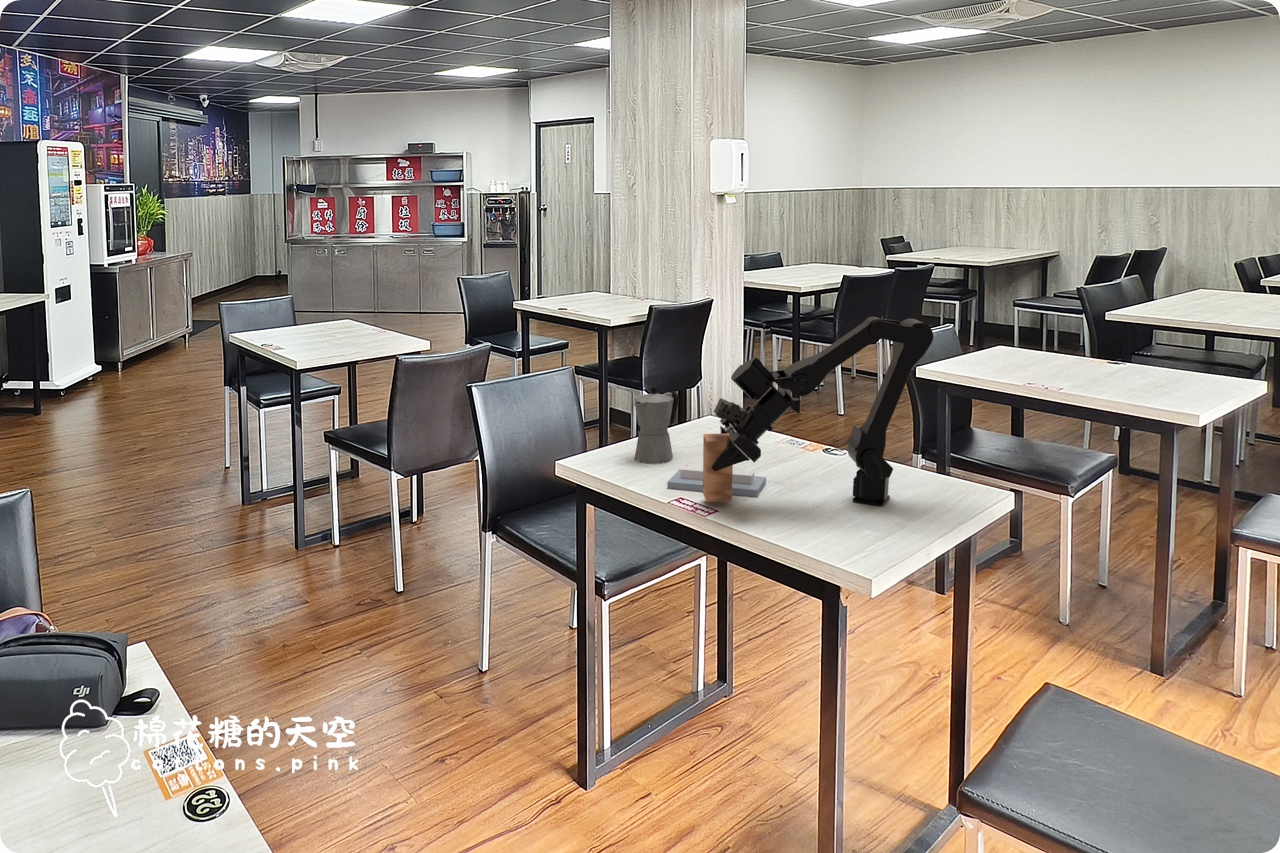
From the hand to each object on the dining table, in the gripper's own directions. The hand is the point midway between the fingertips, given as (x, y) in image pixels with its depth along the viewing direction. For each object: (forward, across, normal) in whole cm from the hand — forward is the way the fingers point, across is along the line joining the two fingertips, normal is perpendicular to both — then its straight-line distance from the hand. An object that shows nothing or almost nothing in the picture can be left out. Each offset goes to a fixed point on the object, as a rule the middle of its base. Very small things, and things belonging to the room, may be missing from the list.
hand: (711, 465), depth 209 cm
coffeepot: (+12, -36, 0) cm, 38 cm away
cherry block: (+4, 0, +6) cm, 7 cm away
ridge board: (+4, -12, +8) cm, 15 cm away
